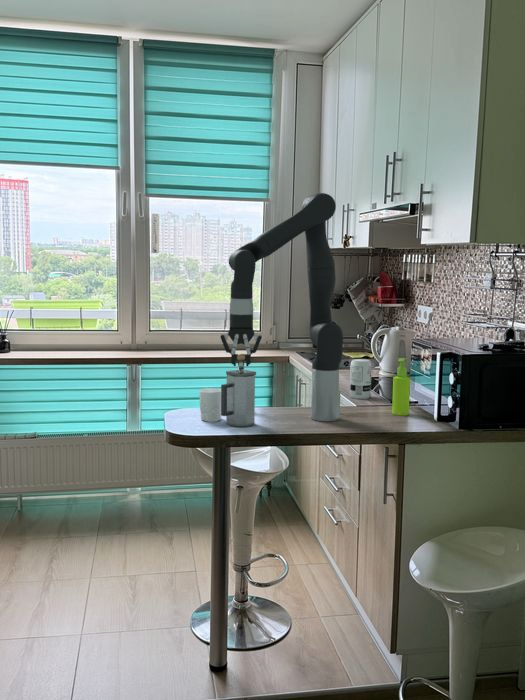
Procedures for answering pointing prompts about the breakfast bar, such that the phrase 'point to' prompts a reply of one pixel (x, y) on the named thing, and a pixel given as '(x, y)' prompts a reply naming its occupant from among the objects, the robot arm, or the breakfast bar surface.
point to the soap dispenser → (401, 390)
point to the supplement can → (360, 379)
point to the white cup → (210, 404)
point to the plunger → (241, 361)
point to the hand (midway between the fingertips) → (240, 365)
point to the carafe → (239, 399)
